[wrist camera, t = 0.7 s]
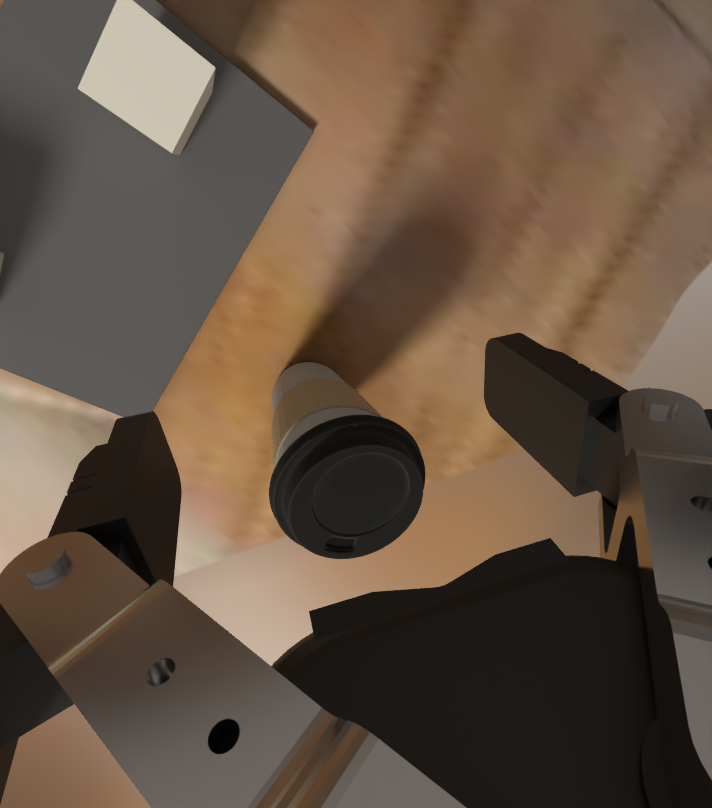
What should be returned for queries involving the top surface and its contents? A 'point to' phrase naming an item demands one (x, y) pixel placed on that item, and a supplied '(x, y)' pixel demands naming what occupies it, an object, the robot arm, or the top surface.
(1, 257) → the sage block
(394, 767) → the robot arm
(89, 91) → the cream block
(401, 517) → the coffee cup
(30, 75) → the mat
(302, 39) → the top surface
